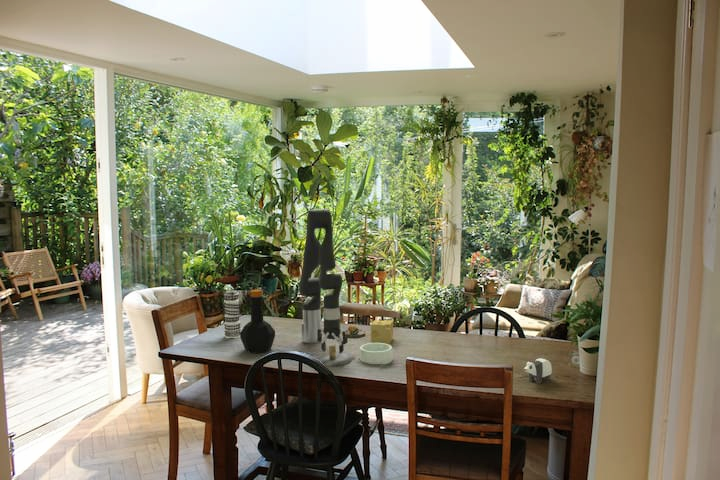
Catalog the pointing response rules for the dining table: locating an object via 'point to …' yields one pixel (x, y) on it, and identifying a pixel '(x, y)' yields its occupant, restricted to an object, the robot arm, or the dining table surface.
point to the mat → (343, 365)
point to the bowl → (376, 353)
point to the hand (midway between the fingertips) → (332, 351)
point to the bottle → (257, 327)
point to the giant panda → (538, 370)
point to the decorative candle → (231, 314)
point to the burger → (354, 332)
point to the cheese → (382, 331)
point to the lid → (333, 357)
